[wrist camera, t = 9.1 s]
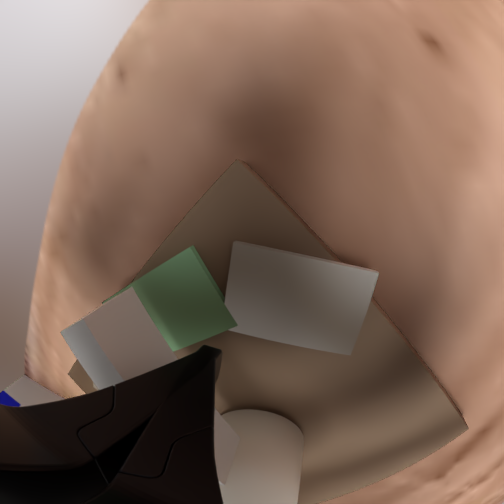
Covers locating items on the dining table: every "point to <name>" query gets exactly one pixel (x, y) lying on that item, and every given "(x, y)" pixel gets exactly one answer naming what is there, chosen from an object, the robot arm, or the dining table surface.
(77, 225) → the dining table surface
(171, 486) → the robot arm
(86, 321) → the lever
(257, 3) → the dining table surface
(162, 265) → the board
